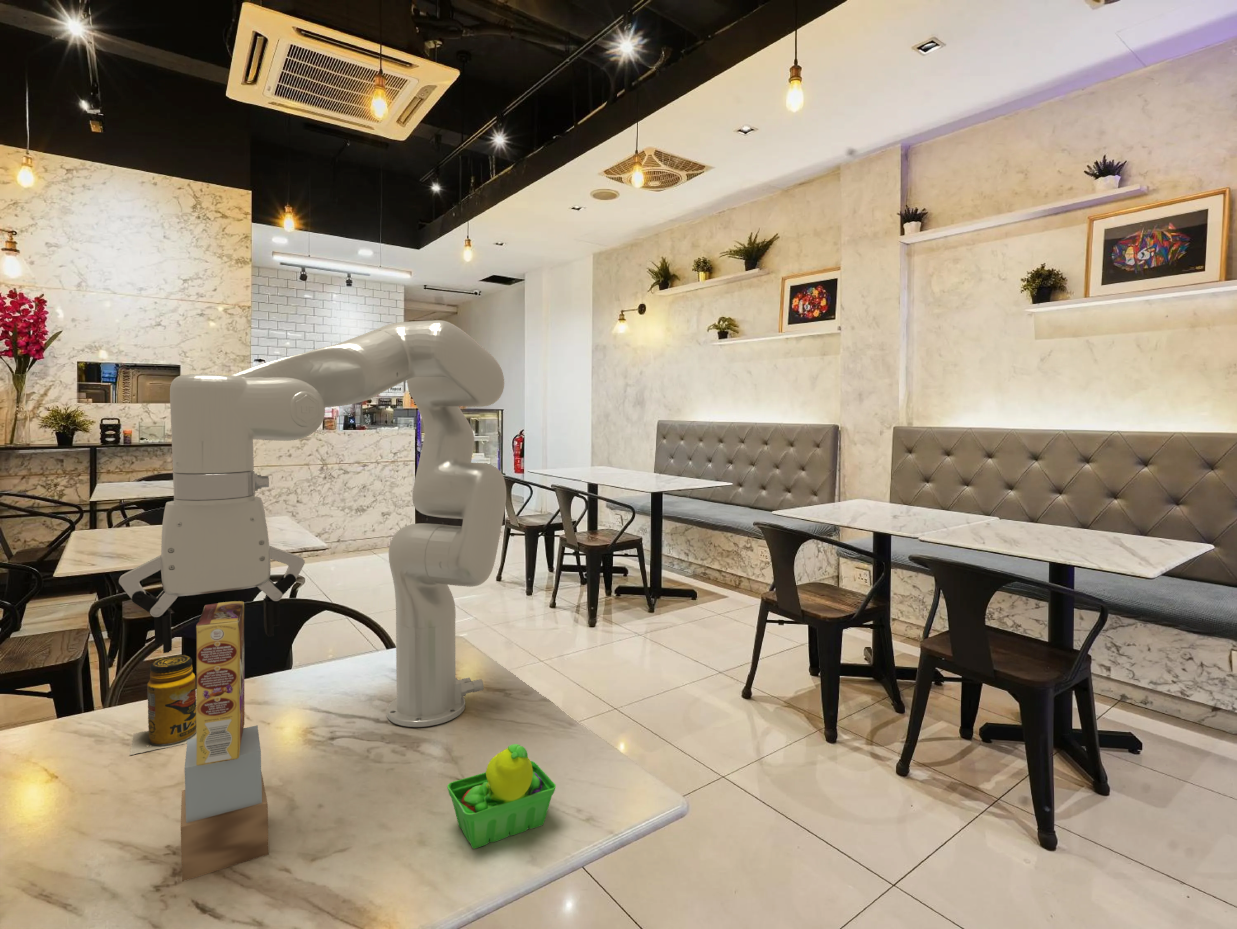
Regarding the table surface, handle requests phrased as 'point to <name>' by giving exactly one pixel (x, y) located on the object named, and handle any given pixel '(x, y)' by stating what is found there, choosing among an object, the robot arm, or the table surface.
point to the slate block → (223, 780)
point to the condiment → (169, 705)
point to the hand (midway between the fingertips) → (220, 640)
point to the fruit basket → (502, 798)
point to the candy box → (220, 682)
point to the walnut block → (223, 838)
